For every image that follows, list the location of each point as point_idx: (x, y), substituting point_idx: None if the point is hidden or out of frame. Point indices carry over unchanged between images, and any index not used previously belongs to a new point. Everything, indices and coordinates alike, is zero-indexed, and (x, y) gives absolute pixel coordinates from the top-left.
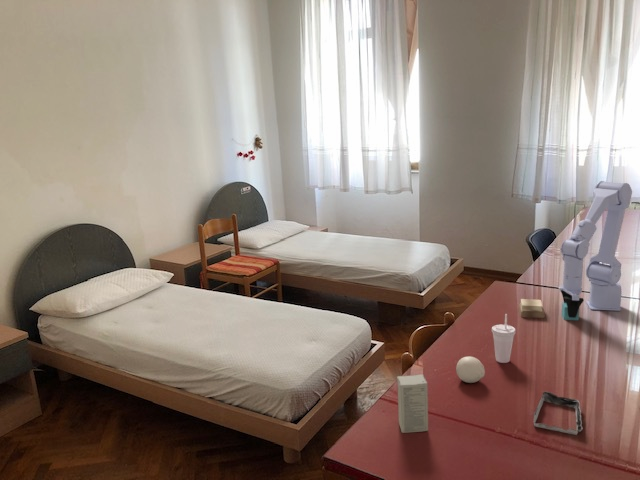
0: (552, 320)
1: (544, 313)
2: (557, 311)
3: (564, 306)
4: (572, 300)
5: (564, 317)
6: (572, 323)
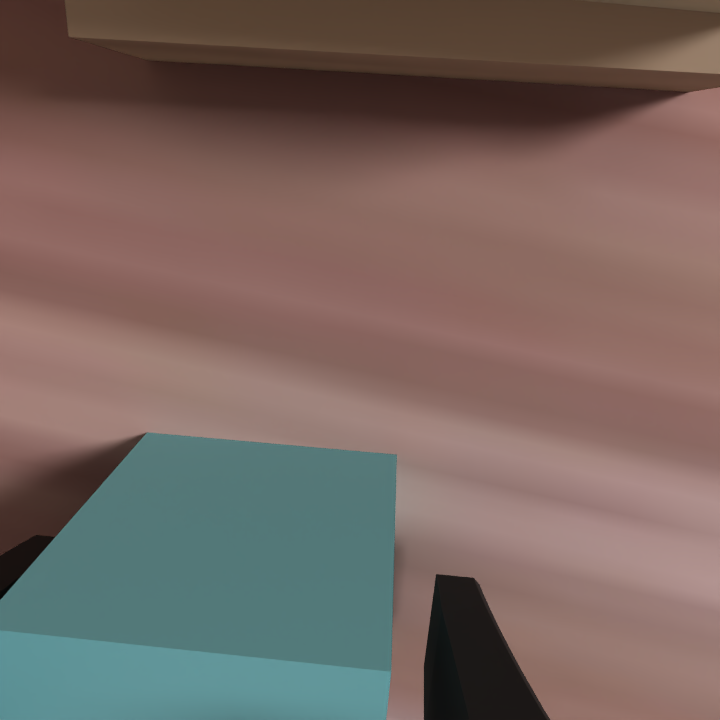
0: (51, 215)
1: (83, 32)
2: (578, 425)
3: (42, 640)
4: None
5: (126, 461)
6: (4, 513)
